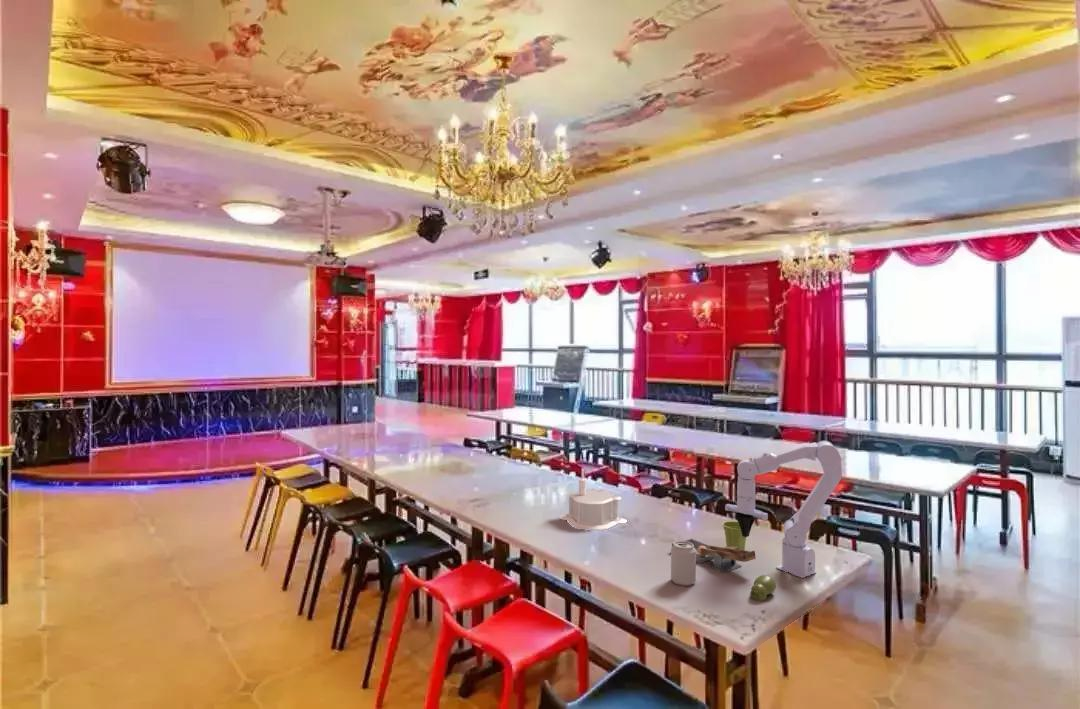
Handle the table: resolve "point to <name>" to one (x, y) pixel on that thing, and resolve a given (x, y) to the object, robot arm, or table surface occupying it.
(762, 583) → the pear
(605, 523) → the birthday cake
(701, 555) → the ball
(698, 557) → the tray
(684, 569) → the can
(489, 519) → the table surface
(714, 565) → the fulcrum
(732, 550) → the plank
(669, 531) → the table surface
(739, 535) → the plant pot
